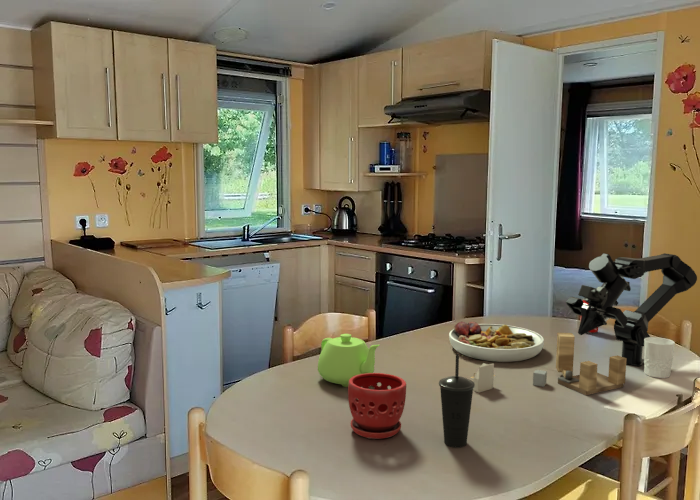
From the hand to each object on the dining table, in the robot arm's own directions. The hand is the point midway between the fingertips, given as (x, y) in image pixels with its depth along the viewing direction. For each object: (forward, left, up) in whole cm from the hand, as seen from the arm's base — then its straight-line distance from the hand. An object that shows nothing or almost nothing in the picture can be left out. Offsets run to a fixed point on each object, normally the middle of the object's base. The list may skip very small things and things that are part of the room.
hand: (579, 333), depth 180 cm
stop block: (+16, -5, -12) cm, 20 cm away
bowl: (-5, -29, -12) cm, 32 cm away
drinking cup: (+63, -4, -12) cm, 64 cm away
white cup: (-13, +18, -12) cm, 25 cm away
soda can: (-46, -13, -12) cm, 50 cm away
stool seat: (+8, +6, -12) cm, 15 cm away
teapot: (+48, -47, -12) cm, 68 cm away
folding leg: (+8, -1, -10) cm, 13 cm away
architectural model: (+29, -15, -12) cm, 35 cm away
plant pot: (+69, -21, -12) cm, 73 cm away
